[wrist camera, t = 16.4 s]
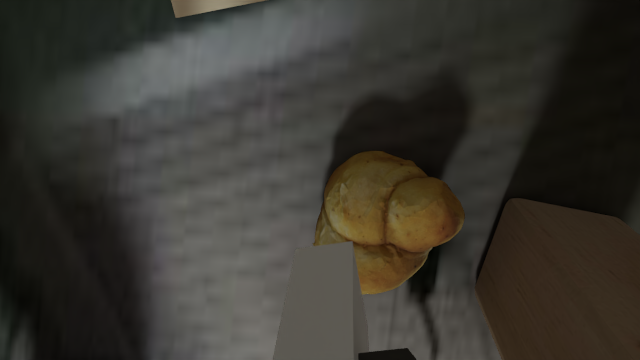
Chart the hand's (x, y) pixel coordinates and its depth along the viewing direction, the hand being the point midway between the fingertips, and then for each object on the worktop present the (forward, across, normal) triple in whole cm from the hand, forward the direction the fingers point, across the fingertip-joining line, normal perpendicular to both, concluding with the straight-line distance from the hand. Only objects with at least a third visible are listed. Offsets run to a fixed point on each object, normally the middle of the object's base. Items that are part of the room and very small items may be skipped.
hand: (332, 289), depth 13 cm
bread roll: (+27, +1, -11) cm, 29 cm away
